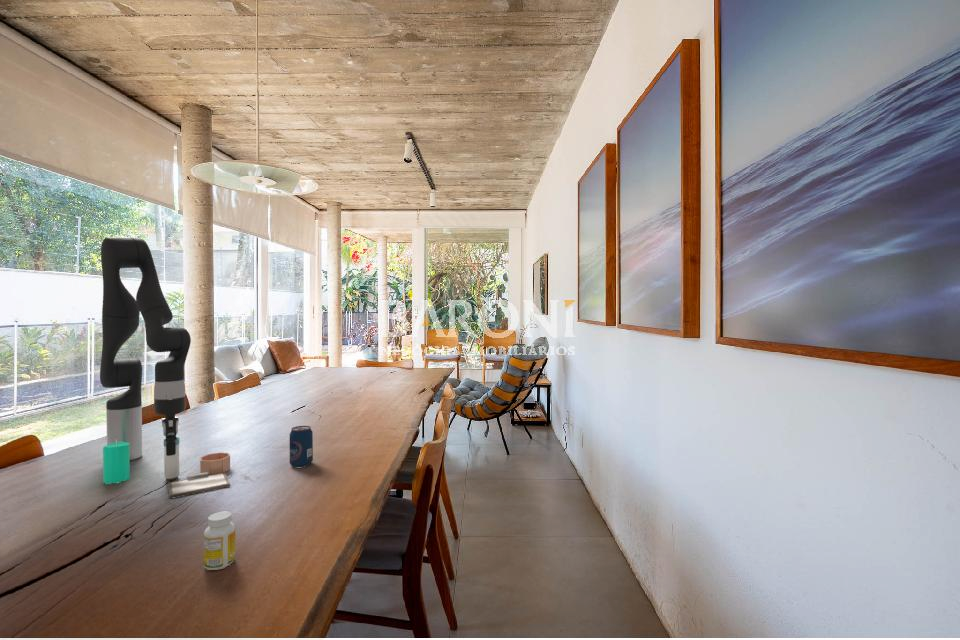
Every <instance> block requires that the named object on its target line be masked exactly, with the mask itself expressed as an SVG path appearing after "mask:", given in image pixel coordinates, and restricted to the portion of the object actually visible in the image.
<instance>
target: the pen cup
mask: <svg viewBox="0 0 960 640" xmlns="http://www.w3.org/2000/svg"><path fill="white" fill-rule="evenodd" d="M230 469H231V455H230V453H229V452H215V453H209V454H205V455H203V456H200V457H199V473H205V472H208V475H212V474H218V473H223V472H225V473H227V472H229V470H230ZM226 471H227V472H226Z"/></svg>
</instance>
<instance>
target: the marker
mask: <svg viewBox="0 0 960 640" xmlns="http://www.w3.org/2000/svg"><path fill="white" fill-rule="evenodd" d="M176 437H177V436H176ZM165 439H166V438H164V439H163V454H164V455H163V459H164V460H163V465H164V468H163V470H164V471H163V472H164V476H163V477H164V480H165V482H166V481H172V482H174V480H176V481H178V480H179V476H180V437H177V440H176V454H175V455H171V456H167V455H166V442H165ZM177 479H178V480H177Z"/></svg>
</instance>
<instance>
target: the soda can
mask: <svg viewBox="0 0 960 640" xmlns="http://www.w3.org/2000/svg"><path fill="white" fill-rule="evenodd" d="M313 438H314V435H313V431H312V429H311V426H310V425H297V426H294V427H291V431H290V432H289V464H290V466H291V467H292V466H293V467H292V468H294V467H303V468H305V467H304V466H307V467H309V466H311V464H312V462H313V459H314V458H313V457H314V452H313V451H314V449H313V448H314V444H313V443H314V442H313V441H314V440H313ZM308 465H309V466H308Z"/></svg>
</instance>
